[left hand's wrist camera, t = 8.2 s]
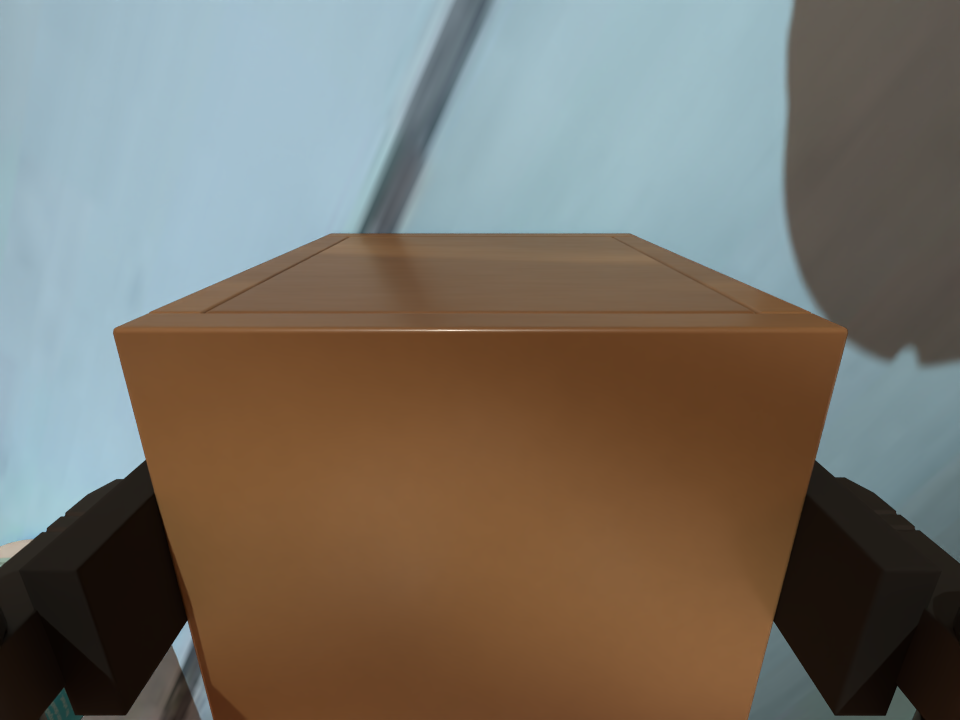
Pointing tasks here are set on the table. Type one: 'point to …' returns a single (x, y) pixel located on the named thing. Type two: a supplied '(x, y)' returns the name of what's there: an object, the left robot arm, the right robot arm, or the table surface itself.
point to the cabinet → (480, 476)
